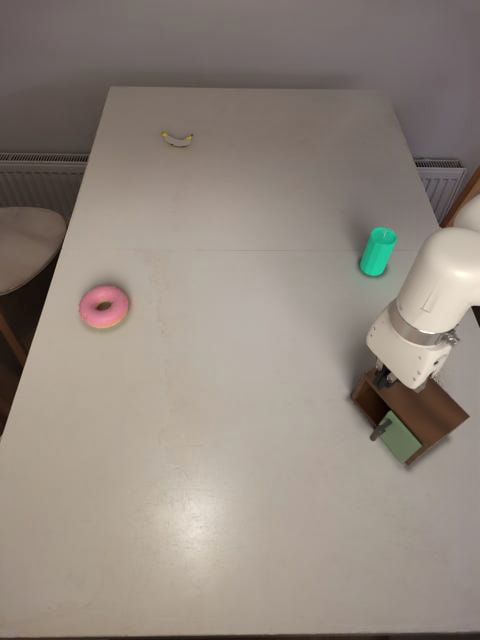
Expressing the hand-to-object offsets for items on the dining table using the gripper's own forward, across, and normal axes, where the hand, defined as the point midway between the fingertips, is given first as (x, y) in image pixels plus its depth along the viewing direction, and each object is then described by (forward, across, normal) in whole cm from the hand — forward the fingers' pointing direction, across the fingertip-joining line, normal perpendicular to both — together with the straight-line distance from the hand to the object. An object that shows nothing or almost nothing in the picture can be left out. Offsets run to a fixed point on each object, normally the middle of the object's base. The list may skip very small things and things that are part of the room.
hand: (382, 382), depth 68 cm
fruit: (+18, +98, -14) cm, 101 cm away
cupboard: (+18, -3, -8) cm, 20 cm away
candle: (+19, +29, -31) cm, 46 cm away
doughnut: (+18, +51, +30) cm, 62 cm away
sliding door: (+18, -7, 0) cm, 19 cm away
